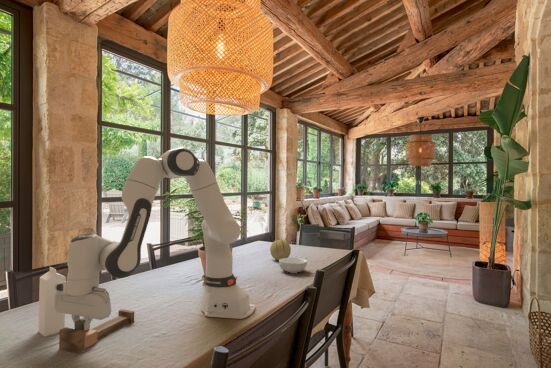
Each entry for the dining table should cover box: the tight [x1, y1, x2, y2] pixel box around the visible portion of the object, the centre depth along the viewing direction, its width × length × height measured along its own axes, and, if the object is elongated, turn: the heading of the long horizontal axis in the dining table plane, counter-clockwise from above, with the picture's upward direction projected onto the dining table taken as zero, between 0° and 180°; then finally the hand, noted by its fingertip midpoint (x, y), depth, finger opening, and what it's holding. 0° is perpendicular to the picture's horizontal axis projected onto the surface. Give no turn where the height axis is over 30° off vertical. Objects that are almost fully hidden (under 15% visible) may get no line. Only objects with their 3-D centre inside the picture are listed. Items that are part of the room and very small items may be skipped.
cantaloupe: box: [269, 238, 292, 261], centre depth 224 cm, size 15×15×15 cm
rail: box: [58, 308, 135, 355], centre depth 109 cm, size 8×24×6 cm, turn 162°
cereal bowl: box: [278, 257, 308, 274], centre depth 194 cm, size 17×17×7 cm
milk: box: [37, 266, 67, 337], centre depth 111 cm, size 6×6×22 cm
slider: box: [74, 317, 98, 350], centre depth 102 cm, size 7×5×8 cm
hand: (82, 328), depth 102 cm, fingers closed on slider, 2 cm apart
